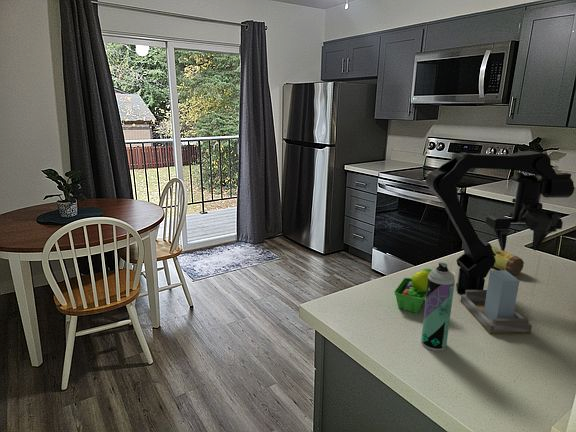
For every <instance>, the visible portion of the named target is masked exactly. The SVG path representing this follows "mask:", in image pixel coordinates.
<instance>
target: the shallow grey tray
mask: <svg viewBox="0 0 576 432" xmlns="http://www.w3.org/2000/svg"><path fill="white" fill-rule="evenodd" d="M486 294H487V289H484V290H465V294H461V295H460V303H461V305H463V307H465V309H466V310H467V311H468V312H469V313H470V314H471V315H472V317H473V318H474V319H475V320H476V321H477V322H478V323H479V324H480V325H481V327H483V329H484V330H485V331H486V332H487V333H488V334H489V335H501V334H502V335H518V334H519V335H525V334H527V335H529V334H530V335H531V332H532V329H533V325H532V324H531V323H530V320H529V319H528V318H527V317H526V318H525V317H523V316H522V315H521V314H520V313H518V312H517V310H516V309H514V314H513V318H496V319H493V322H492V321H491V320H490V319H489V318H488V317H487V315H486V314H485V313H484V307H485V300H486Z"/></svg>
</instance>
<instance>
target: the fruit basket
mask: <svg viewBox="0 0 576 432" xmlns="http://www.w3.org/2000/svg"><path fill="white" fill-rule="evenodd" d="M431 270H432V268H428V267H426V268H424V269H423V270H422V271H417V272H415V273H414V274H412V276H411V277H404V278H403V279H402V281H401V282H400V283H399V285H398V286H397V287H396V288H395V290H394V291H393V292H394V295H395V298H396V299H395V300H396V303H397V308H398V309H399V308H401V309H400V310H403V309H405V310H404V311H407V310H408V311H407V312H413V313H415V314H418V313H419V312H420V309H421V308H422V306H423V304H424V302H425V301H426V292H427V283H428V275H429V272H430V271H431ZM423 301H424V302H423Z"/></svg>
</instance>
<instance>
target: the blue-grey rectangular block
mask: <svg viewBox="0 0 576 432" xmlns="http://www.w3.org/2000/svg"><path fill="white" fill-rule="evenodd" d="M519 285H520V280H519V279H518V278H517V277H516V276H515V275H512V274H510V273H509V272H507V271H506V270H500V269H499V270H496V269H495V270H491V269H490V271H489V275H488V283H487V289H486V290H487V294H486V300H485V307H484V313H485V314H486V315H487V317H488V318H489V319H490V320H491V321H492V322H493V319H496V318H513V314H514V310H516V309H515V308H516V302H517V297H518V291H519V287H520V286H519Z"/></svg>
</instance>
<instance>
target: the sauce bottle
mask: <svg viewBox="0 0 576 432" xmlns="http://www.w3.org/2000/svg"><path fill="white" fill-rule="evenodd" d="M491 247H492V250H493V252H494V253H495V254H496V256H494V257H495V260H496V262H495V263H494V266H493V267H494V268H497V269H499V270H506V271H507V272H509V273H510V274H511V275H513V276H516V275H519V274H520V273H521V271H523V268H524V264H525V262H524V260H523V258H521V257H519V256H517V255H515V254H513V253H511V252H508V251H505V250H504V251H503V250H501V248H498V247H495V246H493V245H491Z"/></svg>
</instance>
